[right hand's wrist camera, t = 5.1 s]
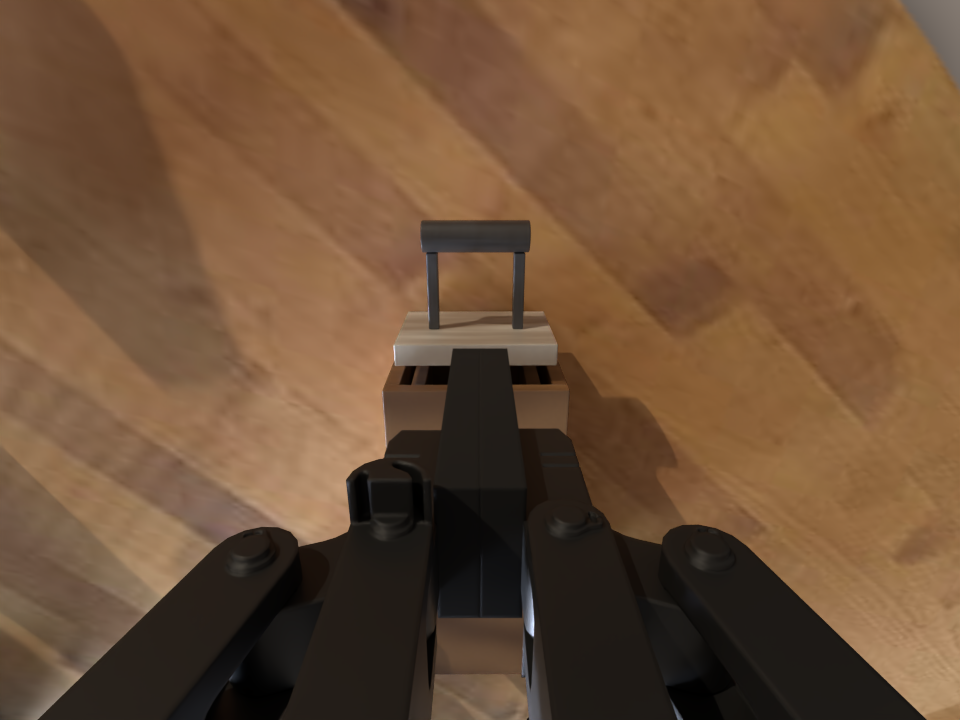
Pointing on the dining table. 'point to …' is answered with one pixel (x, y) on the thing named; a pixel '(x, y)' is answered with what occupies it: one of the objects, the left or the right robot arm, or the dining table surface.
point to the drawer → (439, 332)
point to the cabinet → (422, 409)
